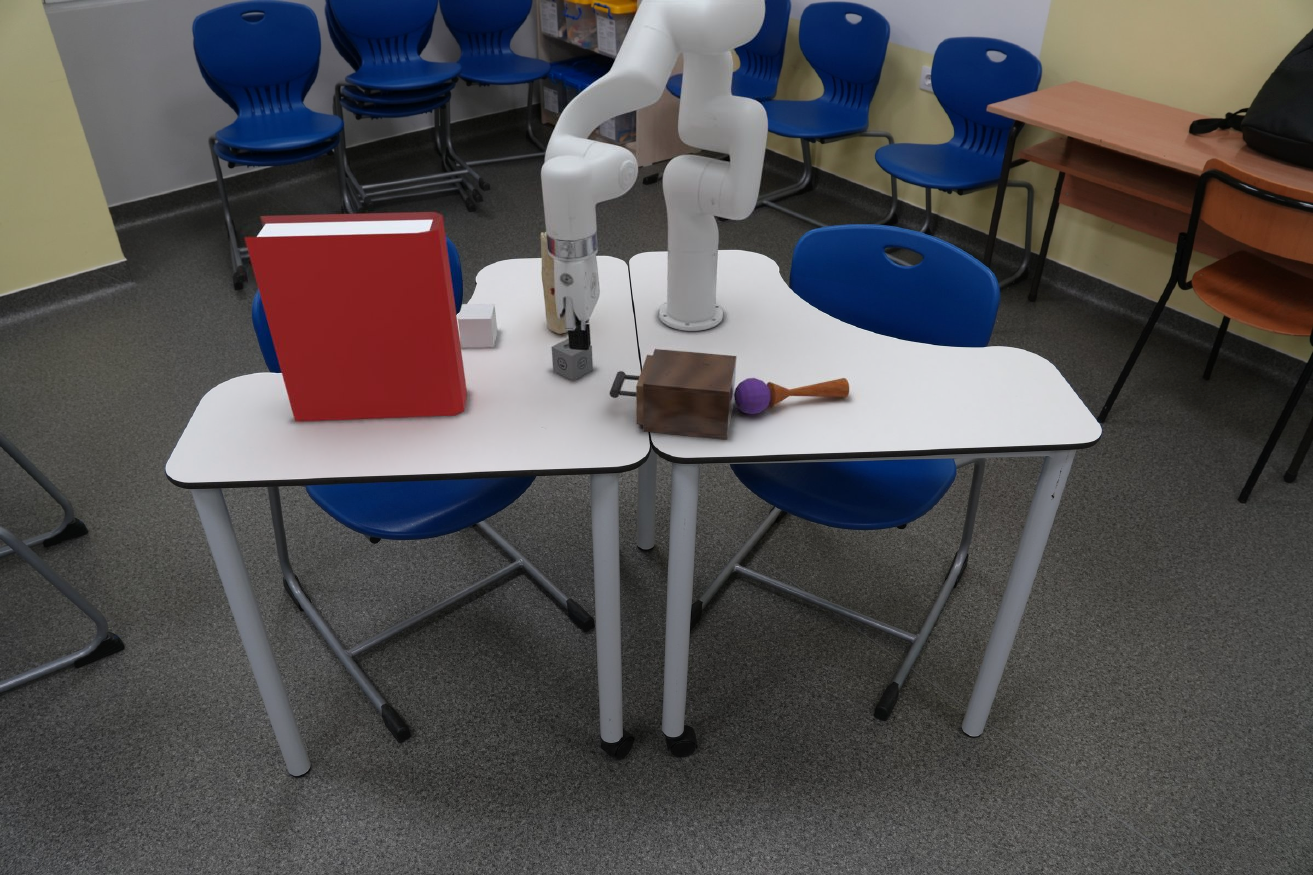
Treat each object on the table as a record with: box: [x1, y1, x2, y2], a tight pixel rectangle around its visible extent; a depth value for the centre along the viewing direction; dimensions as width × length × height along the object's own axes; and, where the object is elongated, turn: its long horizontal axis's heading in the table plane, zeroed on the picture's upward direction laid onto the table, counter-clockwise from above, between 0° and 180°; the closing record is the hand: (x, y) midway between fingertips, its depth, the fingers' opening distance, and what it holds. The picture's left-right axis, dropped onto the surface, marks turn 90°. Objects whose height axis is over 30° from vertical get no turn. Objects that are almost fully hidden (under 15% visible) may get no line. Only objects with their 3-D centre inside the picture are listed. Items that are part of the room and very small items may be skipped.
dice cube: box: [551, 338, 594, 382], centre depth 160 cm, size 5×5×5 cm
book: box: [244, 211, 468, 422], centre depth 143 cm, size 27×8×32 cm, turn 94°
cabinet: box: [642, 348, 737, 440], centre depth 147 cm, size 14×11×9 cm
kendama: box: [734, 377, 850, 415], centre depth 151 cm, size 6×6×20 cm
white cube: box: [457, 303, 498, 349], centre depth 169 cm, size 6×6×6 cm
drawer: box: [608, 354, 653, 426], centre depth 148 cm, size 17×10×7 cm, turn 81°
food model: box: [540, 231, 568, 335], centre depth 170 cm, size 10×7×20 cm
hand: (580, 347), depth 146 cm, fingers closed
